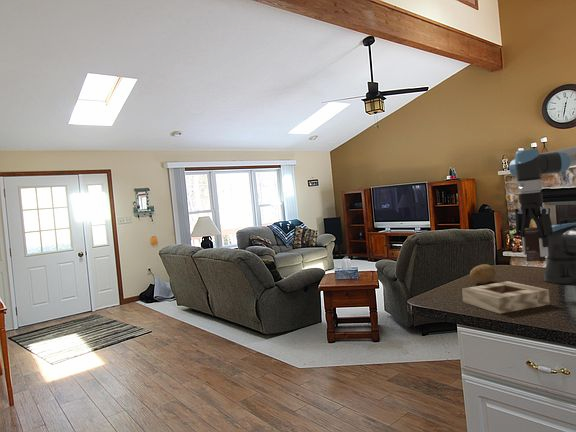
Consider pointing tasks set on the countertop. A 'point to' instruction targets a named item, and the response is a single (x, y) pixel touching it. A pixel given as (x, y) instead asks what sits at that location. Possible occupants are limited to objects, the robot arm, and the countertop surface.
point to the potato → (483, 274)
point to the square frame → (505, 297)
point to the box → (532, 244)
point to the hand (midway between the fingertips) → (535, 254)
